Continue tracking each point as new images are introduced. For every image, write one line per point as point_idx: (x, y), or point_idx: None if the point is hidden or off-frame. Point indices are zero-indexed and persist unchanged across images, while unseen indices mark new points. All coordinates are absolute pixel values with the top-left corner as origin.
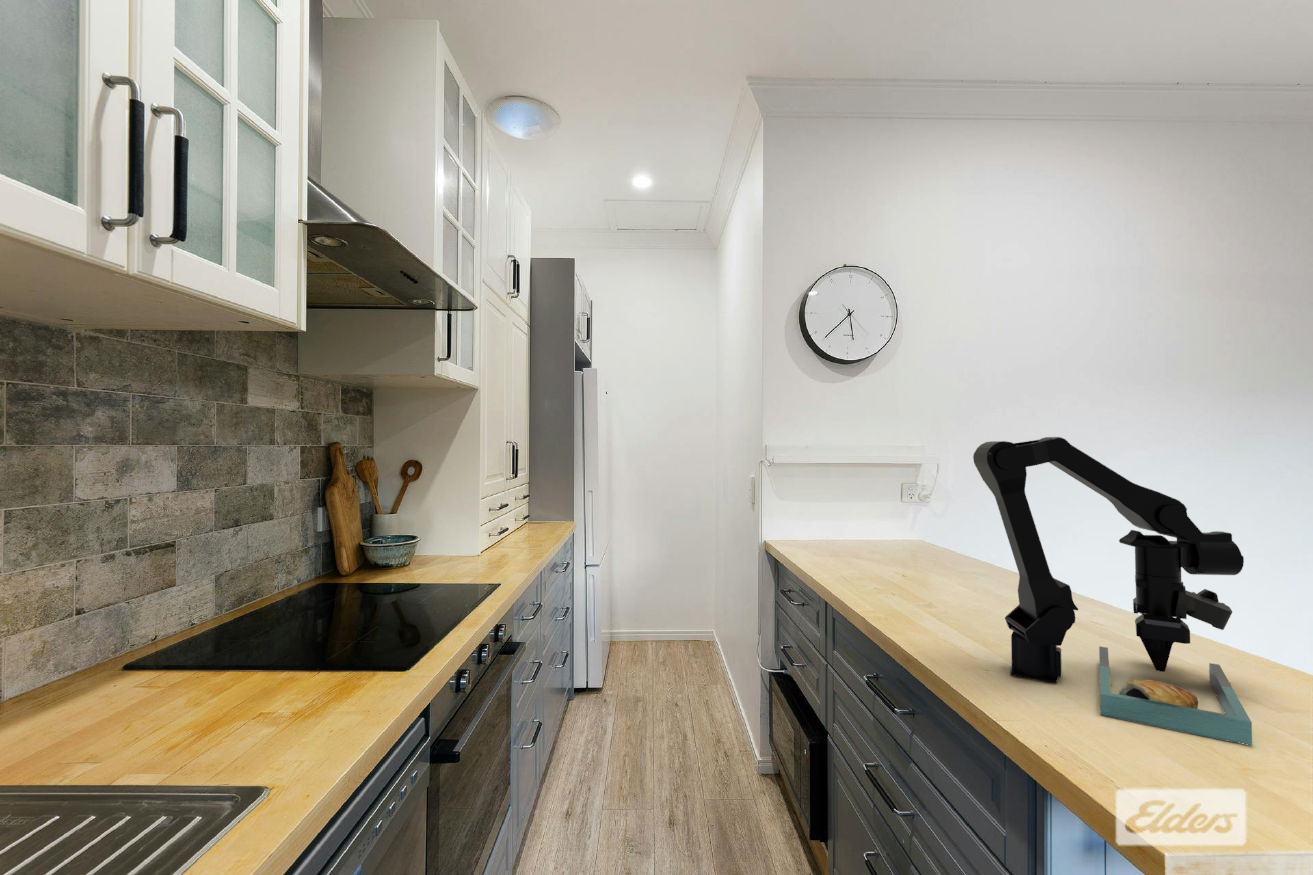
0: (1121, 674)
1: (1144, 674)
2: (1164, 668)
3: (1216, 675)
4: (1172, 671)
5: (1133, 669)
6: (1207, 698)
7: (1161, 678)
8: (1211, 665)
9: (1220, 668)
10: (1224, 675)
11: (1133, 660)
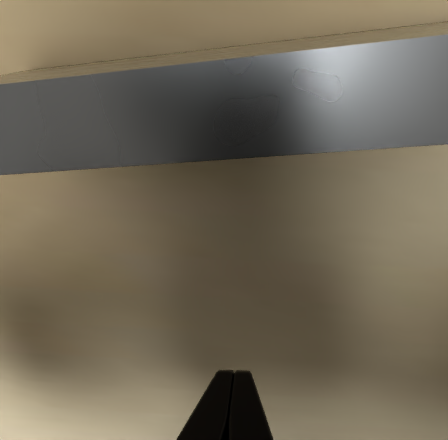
0: None
1: (182, 372)
2: (255, 391)
3: (365, 140)
4: (20, 281)
5: (141, 397)
6: (438, 152)
7: (191, 325)
8: (4, 165)
9: (40, 91)
10: (318, 60)
11: (4, 389)
